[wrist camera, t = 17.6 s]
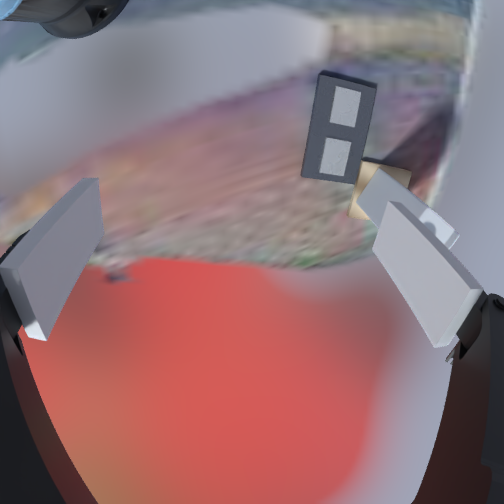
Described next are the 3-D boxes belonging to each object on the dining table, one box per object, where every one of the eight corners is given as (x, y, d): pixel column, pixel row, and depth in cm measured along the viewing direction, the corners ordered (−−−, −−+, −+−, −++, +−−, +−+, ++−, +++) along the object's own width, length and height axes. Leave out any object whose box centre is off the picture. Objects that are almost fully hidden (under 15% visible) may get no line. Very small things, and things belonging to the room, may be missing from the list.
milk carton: (405, 187, 47) (471, 245, 32) (383, 219, 51) (439, 286, 35) (378, 167, 45) (445, 222, 29) (354, 201, 48) (409, 269, 32)
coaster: (361, 160, 45) (362, 161, 45) (409, 170, 47) (412, 172, 46) (346, 215, 51) (348, 217, 50) (394, 221, 52) (395, 223, 51)
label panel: (318, 74, 38) (321, 74, 36) (373, 88, 39) (377, 89, 38) (300, 174, 46) (302, 177, 45) (352, 182, 47) (355, 185, 46)
